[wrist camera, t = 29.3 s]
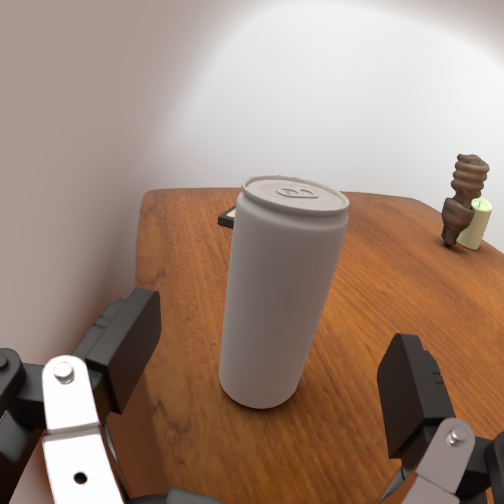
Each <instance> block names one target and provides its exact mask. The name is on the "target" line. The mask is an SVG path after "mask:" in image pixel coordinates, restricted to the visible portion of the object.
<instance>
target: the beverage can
mask: <svg viewBox="0 0 504 504" xmlns="http://www.w3.org/2000/svg"><path fill="white" fill-rule="evenodd" d="M348 208H349V200H348V199H347V197H346V196H344V195H343V194H342V193H341V192H339V191H337V190H335V189H333V188H331V187H328V186H326V185H323V184H320V183H317V182H314V181H310V180H306V179H301V178H296V177H289V176H280V175H260V176H253V177H249V178H247V179H245V180H244V181H243V183H242V192H241V193H240V194H239V196H238V199H237V202H236V210H235V218H234V227H233V236H232V245H231V254H230V264H229V273H228V283H227V292H226V302H225V312H224V322H223V333H222V343H221V354H220V365H219V380H220V384H221V386H222V388H223V390H224V391H225V392H226V393H227V394H228V395H229V396H230V397H231V398H232V399H233V400H235V401H237V402H238V403H240V404H242V405H245V406H248V407H251V408H259V409H264V408H272V407H275V406H277V405H279V404H282V403H283V402H285V401H286V400H287V399H289V398H290V397H291V395H292V394H293V393H294V392H295V390H296V388H297V385H298V383H299V380H300V377H301V374H302V371H303V369H304V366H305V363H306V360H307V357H308V354H309V351H310V348H311V345H312V342H313V339H314V336H315V333H316V330H317V327H318V324H319V321H320V318H321V315H322V311H323V308H324V305H325V302H326V299H327V296H328V293H329V289H330V286H331V283H332V280H333V276H334V273H335V269H336V266H337V262H338V259H339V255H340V252H341V248H342V244H343V241H344V237H345V233H346V229H347V225H348V219H349V216H348V214H347V212H346V211H347V210H348Z"/></svg>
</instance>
